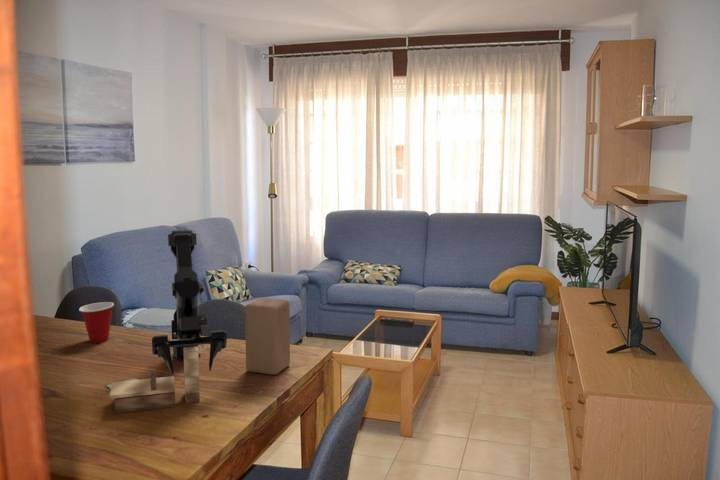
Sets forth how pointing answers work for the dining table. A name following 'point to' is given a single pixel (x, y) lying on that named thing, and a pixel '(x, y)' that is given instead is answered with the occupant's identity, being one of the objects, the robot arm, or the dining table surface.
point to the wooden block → (267, 335)
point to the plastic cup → (97, 320)
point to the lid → (142, 386)
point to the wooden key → (191, 370)
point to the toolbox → (150, 402)
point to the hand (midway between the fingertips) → (191, 372)
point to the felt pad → (126, 380)
